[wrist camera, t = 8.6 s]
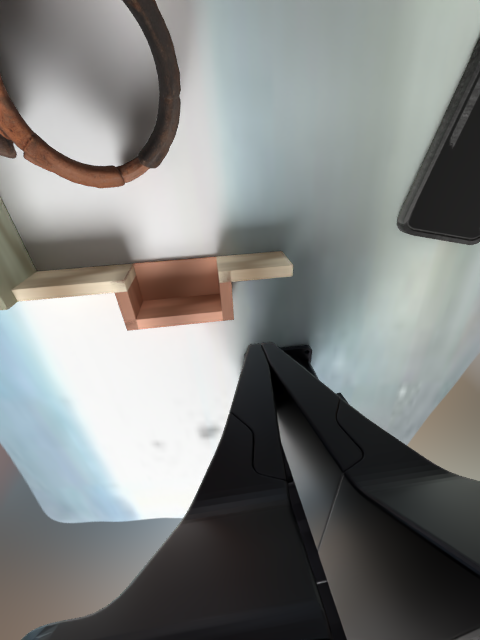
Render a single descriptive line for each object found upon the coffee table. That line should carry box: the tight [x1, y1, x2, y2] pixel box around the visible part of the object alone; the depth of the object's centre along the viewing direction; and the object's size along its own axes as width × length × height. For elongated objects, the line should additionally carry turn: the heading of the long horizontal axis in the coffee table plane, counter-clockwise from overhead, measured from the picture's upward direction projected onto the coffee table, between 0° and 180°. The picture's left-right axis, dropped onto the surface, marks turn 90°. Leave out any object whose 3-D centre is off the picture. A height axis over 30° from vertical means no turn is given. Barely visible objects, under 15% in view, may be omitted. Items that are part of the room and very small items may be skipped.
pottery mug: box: [0, 0, 181, 188], centre depth 12 cm, size 12×10×8 cm
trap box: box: [0, 197, 293, 331], centre depth 14 cm, size 18×22×4 cm
